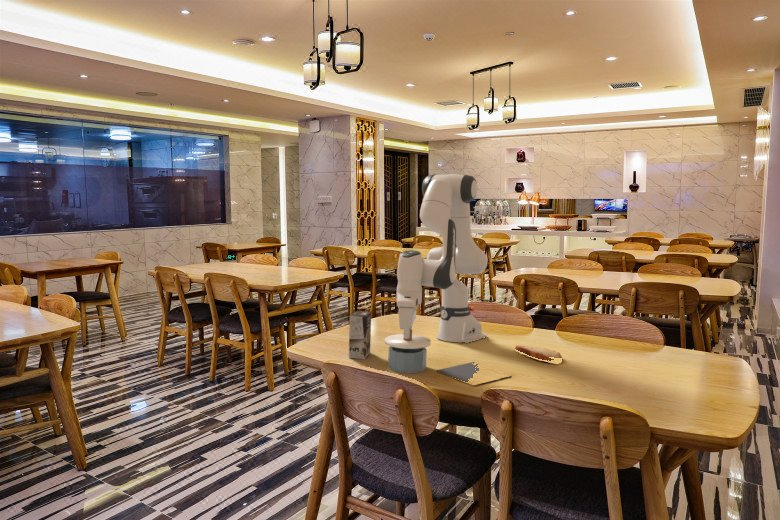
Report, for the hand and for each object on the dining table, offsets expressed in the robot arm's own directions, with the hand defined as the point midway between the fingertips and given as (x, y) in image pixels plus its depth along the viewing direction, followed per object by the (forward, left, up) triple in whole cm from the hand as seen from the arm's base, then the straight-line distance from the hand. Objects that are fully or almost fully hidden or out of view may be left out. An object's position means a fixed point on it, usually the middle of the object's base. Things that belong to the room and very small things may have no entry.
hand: (407, 336), depth 194 cm
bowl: (0, 0, -11) cm, 11 cm away
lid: (0, 0, -2) cm, 2 cm away
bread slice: (-52, +16, -12) cm, 55 cm away
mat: (-15, +18, -11) cm, 26 cm away
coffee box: (+6, -21, -11) cm, 25 cm away
